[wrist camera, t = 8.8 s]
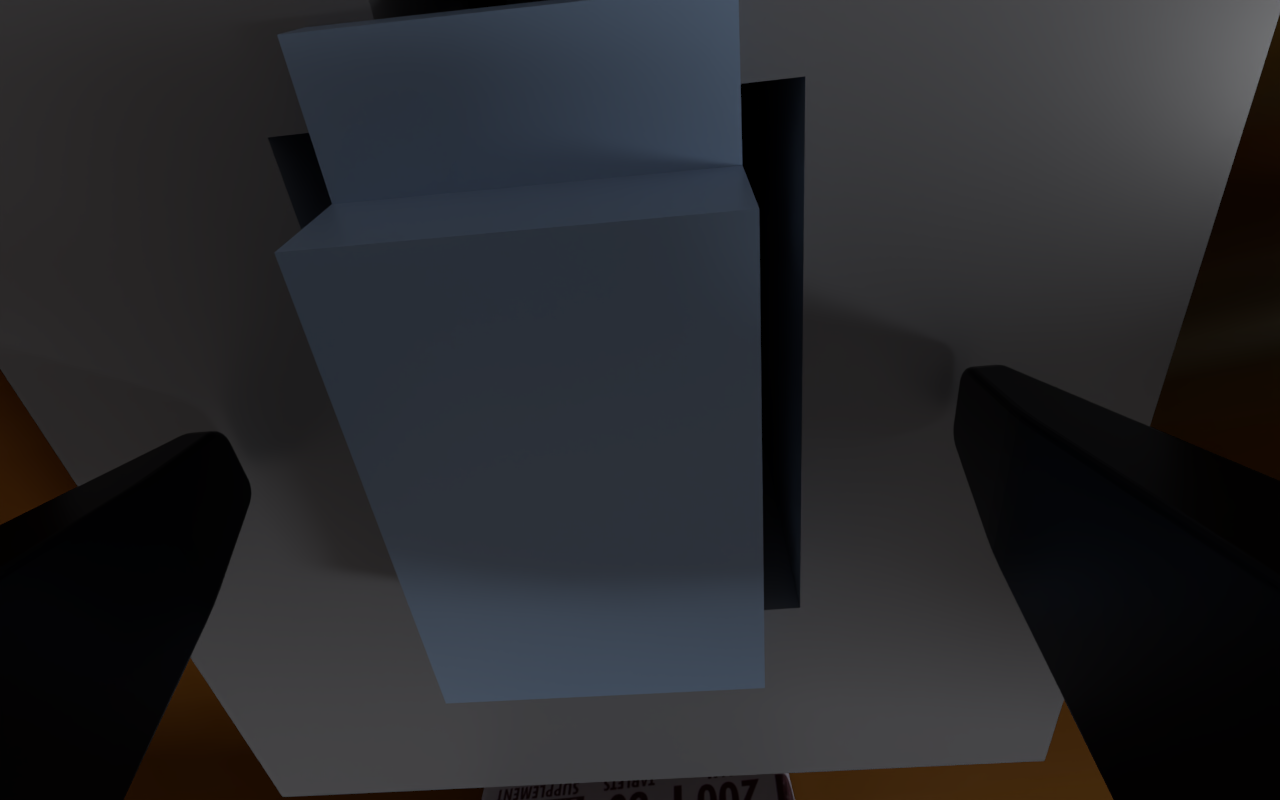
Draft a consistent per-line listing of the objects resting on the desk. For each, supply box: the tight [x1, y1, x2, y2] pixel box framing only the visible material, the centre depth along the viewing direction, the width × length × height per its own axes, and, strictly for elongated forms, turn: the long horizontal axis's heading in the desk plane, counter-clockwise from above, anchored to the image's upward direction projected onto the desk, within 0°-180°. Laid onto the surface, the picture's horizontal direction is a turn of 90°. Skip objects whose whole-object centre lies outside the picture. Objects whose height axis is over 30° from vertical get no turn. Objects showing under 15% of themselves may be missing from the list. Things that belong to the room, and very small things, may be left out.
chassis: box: [0, 0, 1280, 797], centre depth 11 cm, size 16×14×4 cm
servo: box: [274, 0, 765, 704], centre depth 10 cm, size 9×4×6 cm, turn 6°
